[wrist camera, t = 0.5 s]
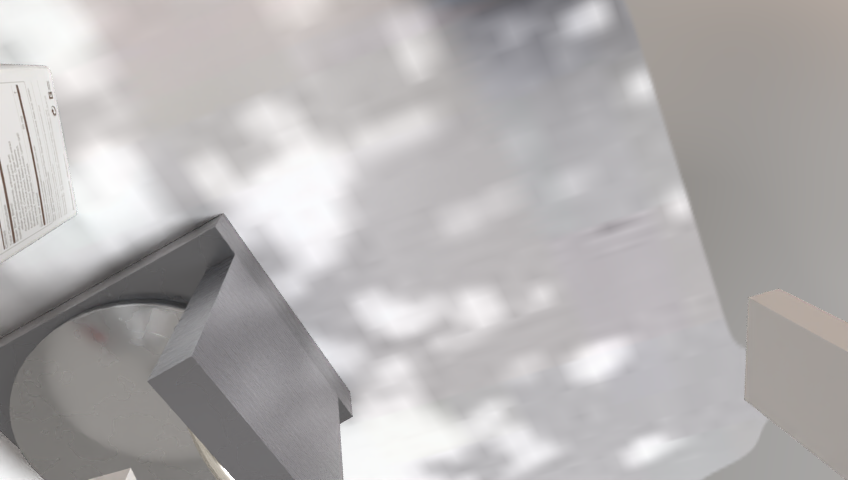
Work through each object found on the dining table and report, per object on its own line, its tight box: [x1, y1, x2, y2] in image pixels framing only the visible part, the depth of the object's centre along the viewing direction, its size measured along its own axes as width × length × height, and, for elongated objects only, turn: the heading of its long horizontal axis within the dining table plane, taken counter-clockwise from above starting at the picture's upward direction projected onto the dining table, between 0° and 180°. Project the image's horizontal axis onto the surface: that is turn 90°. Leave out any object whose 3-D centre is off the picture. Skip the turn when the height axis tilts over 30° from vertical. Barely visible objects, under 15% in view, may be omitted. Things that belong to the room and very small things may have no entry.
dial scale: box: [0, 213, 353, 480], centre depth 30 cm, size 16×18×15 cm
